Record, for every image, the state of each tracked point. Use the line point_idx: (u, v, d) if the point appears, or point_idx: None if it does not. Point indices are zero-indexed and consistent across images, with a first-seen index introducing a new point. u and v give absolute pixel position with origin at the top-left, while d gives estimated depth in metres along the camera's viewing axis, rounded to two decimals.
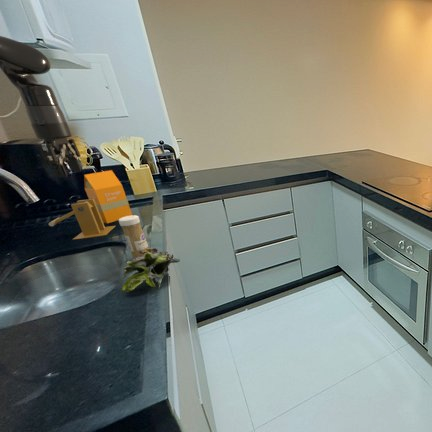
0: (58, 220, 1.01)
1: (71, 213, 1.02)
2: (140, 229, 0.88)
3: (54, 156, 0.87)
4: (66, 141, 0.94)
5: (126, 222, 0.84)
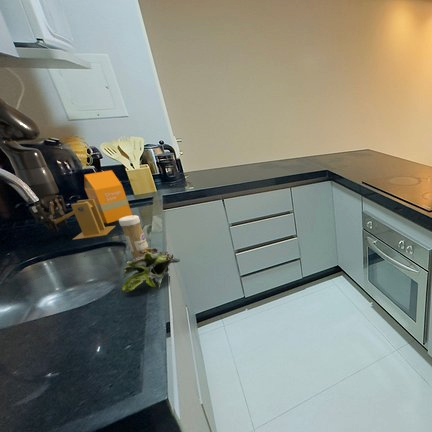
0: (58, 220, 1.01)
1: (71, 213, 1.02)
2: (140, 229, 0.88)
3: (45, 216, 0.95)
4: (54, 196, 1.01)
5: (126, 222, 0.84)
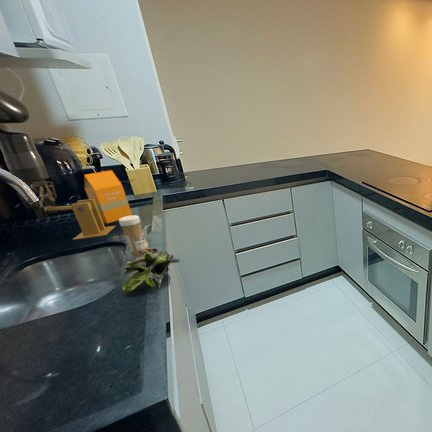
0: (50, 209, 0.99)
1: (67, 208, 1.01)
2: (140, 229, 0.88)
3: None
4: (44, 182, 0.99)
5: (126, 222, 0.84)
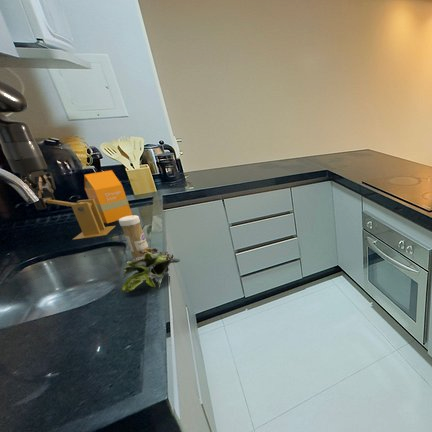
0: (48, 201, 0.98)
1: (67, 204, 1.00)
2: (140, 229, 0.88)
3: None
4: (42, 173, 0.98)
5: (126, 222, 0.84)
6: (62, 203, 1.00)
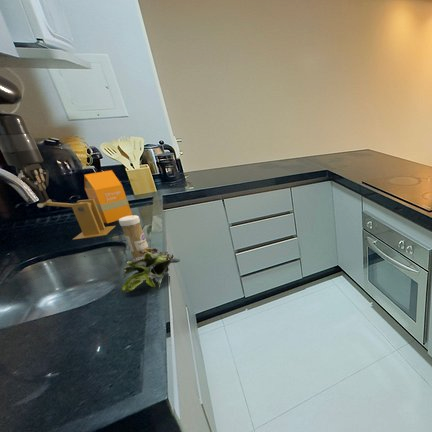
0: (48, 204, 0.99)
1: (67, 205, 1.01)
2: (140, 229, 0.88)
3: (33, 185, 0.93)
4: (38, 166, 0.97)
5: (126, 222, 0.84)
6: (62, 204, 1.00)
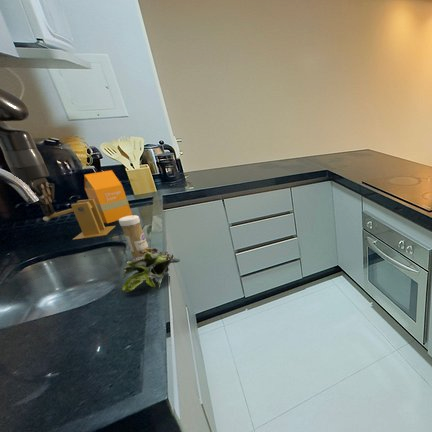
0: (53, 215, 1.00)
1: (69, 211, 1.01)
2: (140, 229, 0.88)
3: (39, 199, 0.95)
4: (44, 180, 0.99)
5: (126, 222, 0.84)
6: (65, 212, 1.01)
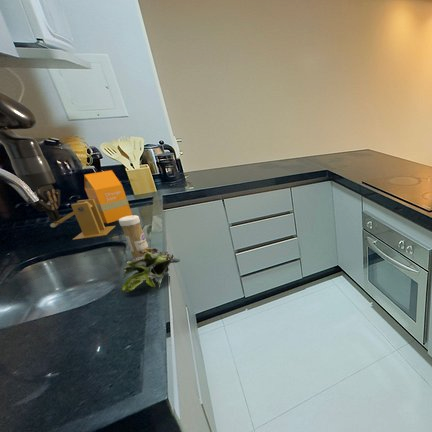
0: (59, 221, 1.01)
1: (72, 214, 1.02)
2: (140, 229, 0.88)
3: (46, 206, 0.96)
4: (50, 187, 1.00)
5: (126, 222, 0.84)
6: (68, 215, 1.02)
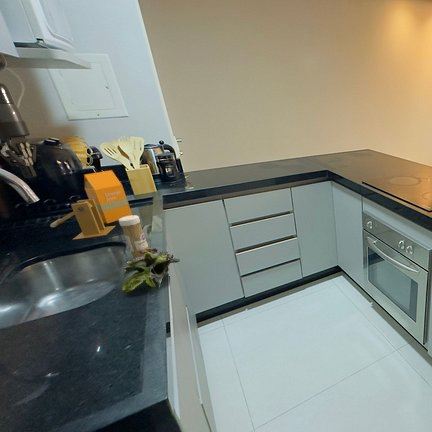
0: (59, 221, 1.01)
1: (72, 214, 1.02)
2: (140, 229, 0.88)
3: (18, 159, 0.88)
4: (25, 140, 0.92)
5: (126, 222, 0.84)
6: (68, 215, 1.02)
